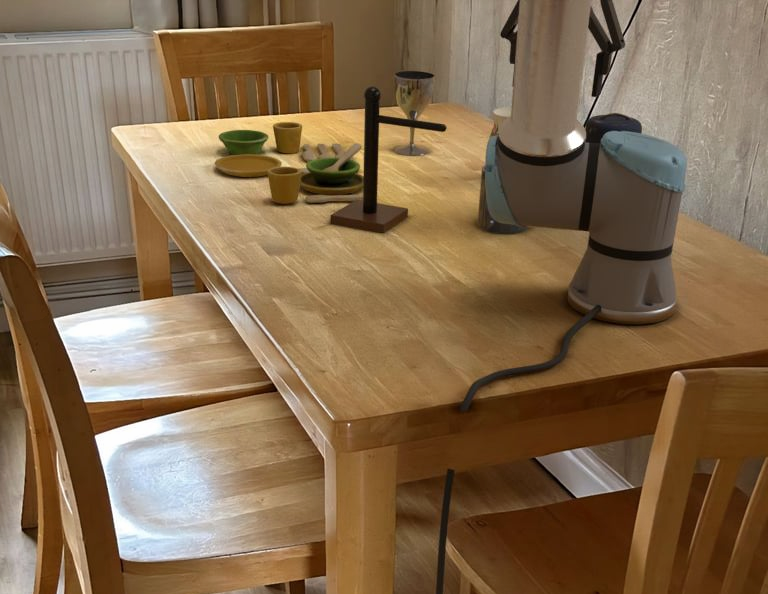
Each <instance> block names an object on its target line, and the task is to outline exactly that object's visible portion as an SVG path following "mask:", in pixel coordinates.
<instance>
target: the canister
mask: <svg viewBox="0 0 768 594" xmlns="http://www.w3.org/2000/svg"><path fill="white" fill-rule="evenodd" d="M584 128H585V130H586V141H585V142H586V143H597V144H601V139H602V138H603V136H604V134H605V133H607V132H610V131H619V132H620V131H629V132H635V133H641V134H643V125H642V123H641V122H640V120H638V119H636V118H634V117H630V116H629V115H626V114H624V113H619V112H611V113H607V114H598V115H593V116H591V117H589V118H588V119H587V120H586V122H585V126H584Z"/></svg>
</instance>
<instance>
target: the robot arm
mask: <svg viewBox="0 0 768 594" xmlns="http://www.w3.org/2000/svg"><path fill="white" fill-rule="evenodd" d="M599 2H600V7H601V10H602V15H603V17H604V20H605V23H606V27H607V30H608V33H609V36H608V34H607V32H606V31H605V29H604V27H603V26H602V24H601V22H600V21H599V19H598V17H597V15H596V14H595V12H594V9H593V7H592V0H517V1H516V3H515V5H514V6H513V9H512V11H511V12H510V15H509V16H508V18H507V20H506V21H505V23H504V26H503V27H502V29H501V31H500V34H499V36H500V37H501V38H502V39H505V40H507V41H509V43H510V46H509V47H510V49H509V59H508V61H509V64H510V65H513V74H512V75H513V76H512V85H511V87H512V98H511V107H512V109H511V116H510V117H508V118H507V119H506V120H504V121H503V122H502V123H501V125H500V127H499V131H498V135H495V136H492V137H490V136H489V138H490V139H489V138H488V140H487V143H486V149H485V164H484V165H486V173H485V187H486V199H487V206H488V210H489V213H490V215H491V217H492V218H493V219H494V220H495V221H497V222H499V223H504V224H512V225H516V226H518V227H524V226H528V227H531V228H544V229H554V230H555V229H557V230H568V231H577V232H578V231H580V232H589V233H588V240H587V247H586V250H585V252H584V254H583V256H582V258H581V261H580V262H579V264H578V266H577V268H576V271H575V272H574V275H573V277H572V279H571V281H570V283H569V286H568V293H567V303H568V304H569V305H570V306H571V308H573V309H574V310H575V311H576V312H578V313H580V314H582V315H584V316H583V317H582V318H580V320H578V321H577V322H576V323H574V324H573V326H571V327H570V328H569V329H568V331H567V332H566V333H565V335H563V336H564V337H563V338H562V340H561V345H560V348H559V352H558V353H557V354H556V355H555V357H553V358H551V359H550V360H547V361H545V362H541V363H537V364H532V365H524V366H518V367H512V368H511V367H510V368H506V369H502V370H497V371H495V372H492V373H490V374H488V375H485V376H482V377H480V378H478V379H477V380H475V381H474V382H473V383H472V384H471V385H470V387H469V388H468V391H467V392H466V394H465V396H464V398H463V401H462V403H461V405H460V408H459V411H460V412H462V413H465V412H468V411H469V408H470V406H471V404H472V401H473V399H474V397H475V395H476V394H477V391H478V390H479V389H480V388H482V387H484V386H486V385H487V384H490V383H491V382H494V381H496V380H499V379H504V378H507V377H508V378H509V377H512V376H513V377H514V376H519V375H525V374H533V373H538V372H542V371H545V370H548V369H551V368H553V367H555V366H557V365H559V364H560V363H561V362H562V361H563V360H564V359H565V357H566V356H567V353H568V351H569V344H570V341H571V340H572V338H573V336H574V335H576V333H577V332H578V331H580V330H581V329H582V328H583V327H584V326H585V325H586V324H588V323H589V322H590V321H591V320H592V319H595V320H598V321H602V322H607V323H613V324H621V325H648V324H649V325H650V324H654V323H659V322H663V321H665V320H667V319H669V318H671V317H672V315H673V314H674V313H675V310H676V305H677V298H678V297H677V289H676V283H675V275H674V269H673V263H672V253H673V248H674V243H675V237H676V232H677V225H678V221H679V220H678V219H679V214H680V207H681V203H682V196H683V192H685V190H686V184H685V183H686V175H687V174H686V173H687V167H688V160H687V156H686V155H685V153H684V151H683V150H682V149H681V148H679V147H678V146H677V145H675V144H673V143H671V142H670V141H667V140H664V139H662V138H659V137H656V136H653V135H649V134H646V133H635V132H629V131H620V132H619V131H610V132H607V133H605V134H604V136H603V138H602V139H601V144H597V143H586V142H585V141H586V130H585V126H584V125H583V123H581V122H580V121H579V120H578V119H577V118H578V113H579V112H578V111H579V103H580V96H581V95H580V94H581V86H582V80H583V79H582V78H583V70H584V63H585V54H586V46H587V40H588V39H587V38H588V31H589V32H590V34H591V35H592V37H593V38H594V41H595V42H596V44H597V45H598V47H599V49H600V51H599V52H598V53H596V58H595V64H594V71H593V73H594V74H593V81H592V88H591V96H590V97H591V98H597V97H599V96H600V95H601V94H602V86H603V79H604V76H607V75H608V74H609V73H610V71H611V64H612V57H613V53H614V52H620V51H621V50H622V49H624V48H625V47H626V42H625V38H624V34H623V31H622V28H621V25H620V24H621V23H620V22H619V18H618V15H617V14H618V13H617V12H616V8H615V4H614V1H613V0H599ZM516 28H517V30H516V31H515V29H516ZM609 37H610V38H609ZM454 477H455V469H451V468H447V469H446V477H445V482H444V489H443V490H444V491H443V497H442V506H441V514H440V515H441V516H440V525H439V536H438V537H439V540H438V551H437V569H436V583H435V584H436V585H435V587H436V588H435V594H444V580H445V564H446V551H447V549H446V548H447V539H448V528H449V527H448V525H449V517H450V508H451V507H450V505H451V498H452V492H453V491H452V490H453V484H454Z"/></svg>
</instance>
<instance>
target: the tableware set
mask: <svg viewBox="0 0 768 594" xmlns="http://www.w3.org/2000/svg"><path fill="white" fill-rule="evenodd" d="M272 129H273V134H274V140H275V146H276V150H277V152H279V153H282V154H296V153H297V152H299V151H300V148H301V147H300V146H301V141H302V140H301V139H302V133H303V124H302V123H299V122H294V121H280V122H276V123H273V125H272ZM218 139H219V141H220V142H221V143H222V144H223V146H224V147H225V149H226V150H227V152H228V153H229V154H230V155H227V156H222V157H220V158H218V159H216V160H215V161H214V166H215V167H216V168H217V169H218V170H219V171H220V172H221V173H223V174H225V175H230V176H235V177H241V178H242V177H243V178H245V177H247V178H254V177H255V178H256V177H264V176H267V179H268V185H269V188H270V189H269V190H270V195H271V200H272V202H274V203H276V204H292V203H295V202H297V201H298V199H299V195H300V194H299V193H300V186H301V188H303V190H305V191H307V192H310V193H313V195H306V196H305V202H306V203H325V202H353V201H355V200H362V201H363V194H353V193H356V192H358V191H360V190H361V189H363V176H364V175H362V174H359V173H358V172H359V171H360V169H361V164H360V163H359V162H357V161H356V160H354V156H355V155H357V154H358V153H359V152H360V151H361V150H362V144H361V143H353V144H352V145H350V147H349V148H348V149H347V150H346V151H344V149H343V146H342V145H341V144H340V143H338V142H337V143H335V142H334V143H331V149H332V150H333V151H334V152H335V156H334V155H332V154H330V153H328V151H327V145H326V144H325V143H317V145H316V146H317V149H318V151H319V153H320V154H319V155H318V158H317V156H316V154H315V152H314V150H313V148H312V147H311V145H310V144H309V143H303V144H302V149H303V150H304V151H302V152H301V156H302V159H303V160H304V161H305V162H306V164H305V167H298V168H297V167H293V166H282V164H283V163H282V161H281V160H280V159H278V158H276V157H272V156H269V155H264V154H259V153H260V152H261V151H262V149H263V146H264V145H265V143H266V142H267V141H268V140H269V135H268V134H267V133H266V132H263V131H260V130H254V129H253V130H252V129H234V130H233V129H232V130H227V131H223V132H221V133H219V135H218Z"/></svg>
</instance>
